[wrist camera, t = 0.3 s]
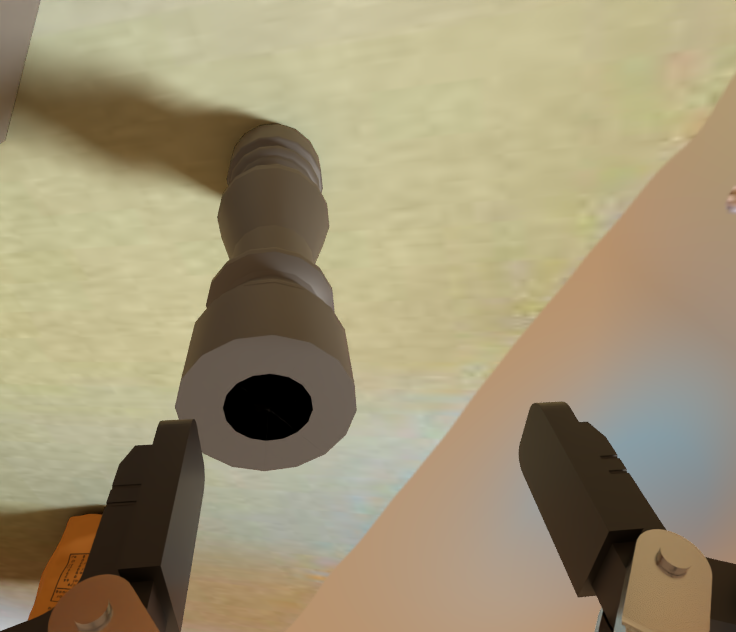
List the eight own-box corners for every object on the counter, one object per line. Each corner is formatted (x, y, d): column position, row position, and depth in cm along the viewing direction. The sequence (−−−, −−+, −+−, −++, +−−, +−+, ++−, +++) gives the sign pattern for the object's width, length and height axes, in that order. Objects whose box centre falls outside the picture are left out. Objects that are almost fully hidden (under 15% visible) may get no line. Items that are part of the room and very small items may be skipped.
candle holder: (315, 214, 40) (352, 476, 19) (230, 206, 39) (170, 476, 18) (324, 129, 37) (378, 332, 16) (231, 118, 36) (160, 322, 15)
